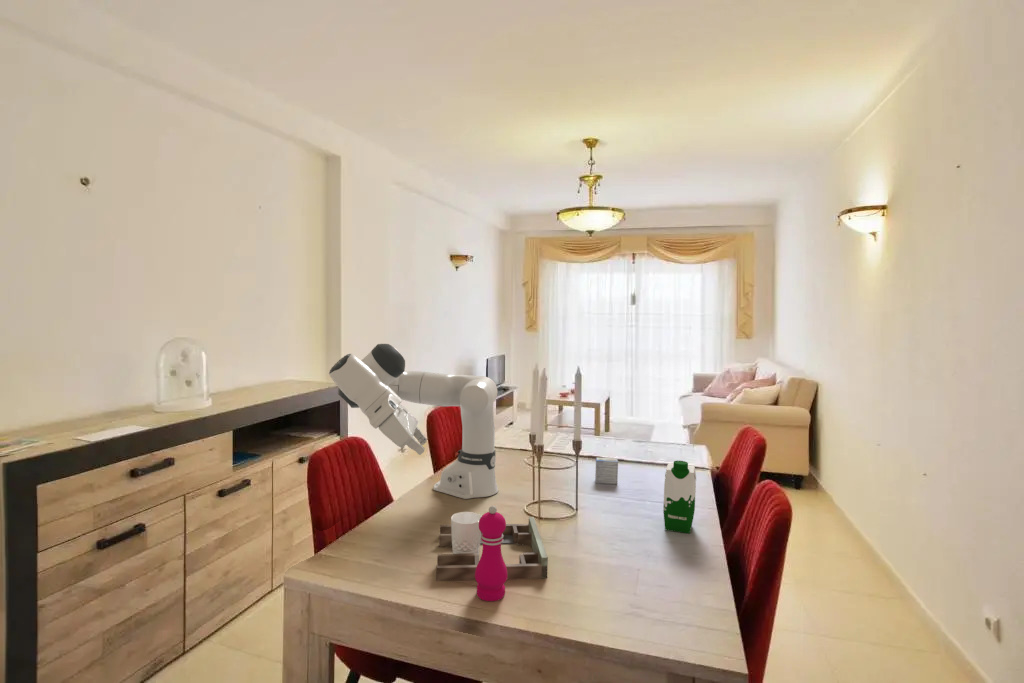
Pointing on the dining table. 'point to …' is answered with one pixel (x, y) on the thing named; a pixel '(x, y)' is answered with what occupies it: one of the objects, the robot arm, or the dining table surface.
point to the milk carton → (679, 496)
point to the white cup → (465, 533)
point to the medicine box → (606, 470)
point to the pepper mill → (491, 557)
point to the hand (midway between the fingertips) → (423, 447)
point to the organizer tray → (513, 534)
